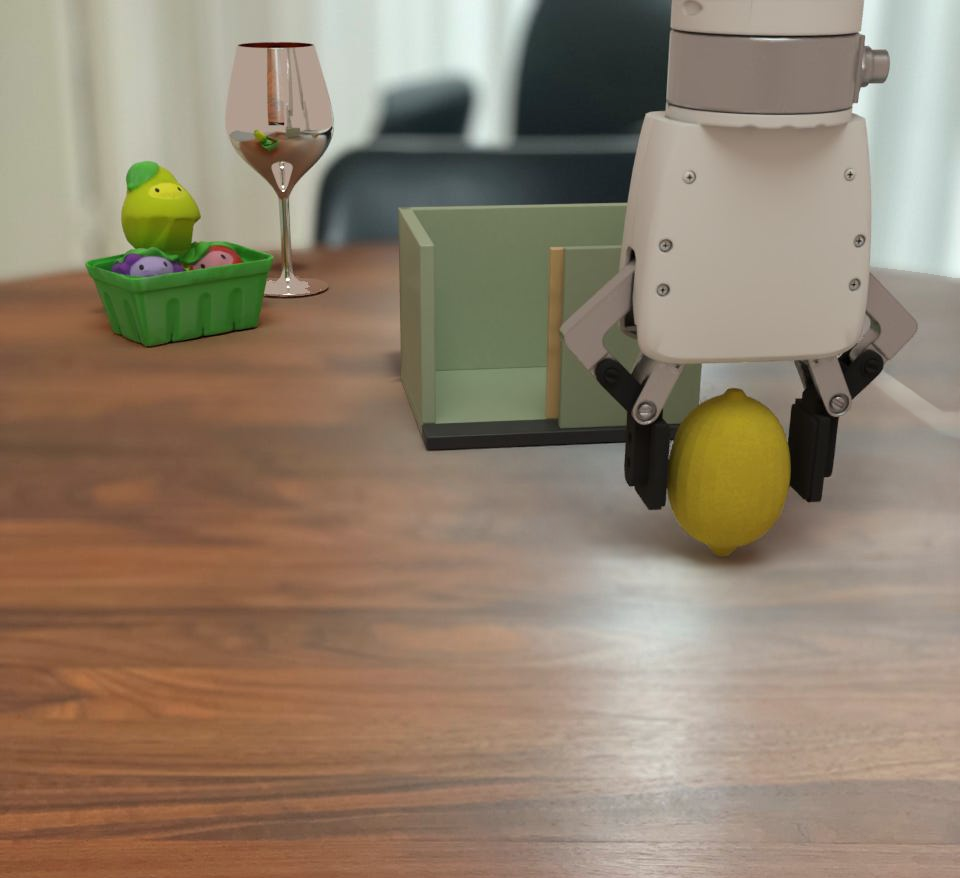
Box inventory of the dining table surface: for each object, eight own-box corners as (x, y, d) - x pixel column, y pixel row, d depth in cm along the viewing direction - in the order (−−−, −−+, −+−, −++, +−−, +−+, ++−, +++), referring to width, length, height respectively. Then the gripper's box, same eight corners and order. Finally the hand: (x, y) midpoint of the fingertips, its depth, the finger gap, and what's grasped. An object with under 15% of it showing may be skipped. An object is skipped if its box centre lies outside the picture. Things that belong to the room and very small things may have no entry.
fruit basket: (138, 354, 101) (122, 181, 96) (80, 329, 107) (61, 164, 102) (282, 328, 107) (274, 165, 102) (219, 306, 113) (208, 150, 108)
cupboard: (639, 372, 98) (648, 202, 93) (698, 439, 85) (712, 246, 81) (401, 381, 95) (398, 207, 91) (426, 450, 83) (424, 253, 78)
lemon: (805, 556, 70) (823, 389, 66) (733, 589, 66) (747, 414, 63) (710, 525, 73) (723, 364, 70) (637, 555, 70) (646, 387, 66)
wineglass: (215, 288, 119) (197, 44, 111) (296, 272, 124) (284, 39, 116) (279, 305, 114) (266, 51, 106) (361, 288, 119) (353, 45, 111)
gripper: (925, 70, 65) (875, 461, 73) (533, 73, 63) (524, 477, 71) (1004, 88, 58) (940, 516, 66) (569, 92, 56) (555, 536, 64)
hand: (726, 492), depth 68 cm, fingers open, 6 cm apart
